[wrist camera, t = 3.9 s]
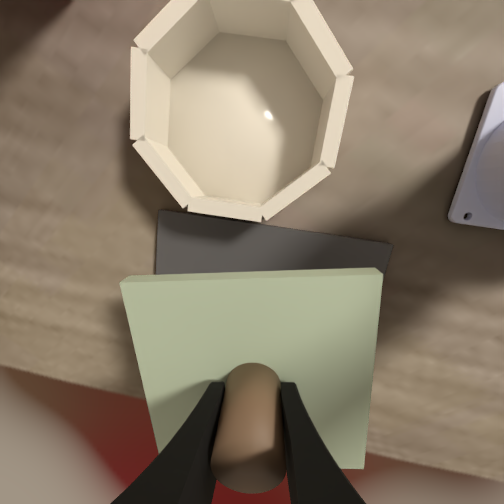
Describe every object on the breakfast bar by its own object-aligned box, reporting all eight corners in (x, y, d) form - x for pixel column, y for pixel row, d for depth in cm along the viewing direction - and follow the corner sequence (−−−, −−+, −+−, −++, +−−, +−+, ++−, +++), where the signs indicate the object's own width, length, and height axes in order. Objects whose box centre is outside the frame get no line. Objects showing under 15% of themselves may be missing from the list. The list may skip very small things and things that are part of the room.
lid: (374, 267, 10) (444, 324, 6) (358, 452, 14) (397, 571, 10) (129, 275, 11) (50, 330, 7) (166, 448, 14) (126, 556, 10)
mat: (389, 243, 17) (393, 245, 16) (341, 404, 20) (343, 410, 20) (162, 209, 17) (158, 210, 17) (154, 373, 21) (151, 378, 20)
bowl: (347, 37, 14) (372, -11, 11) (310, 222, 17) (320, 231, 13) (163, 13, 14) (131, -41, 11) (156, 199, 17) (129, 202, 14)
